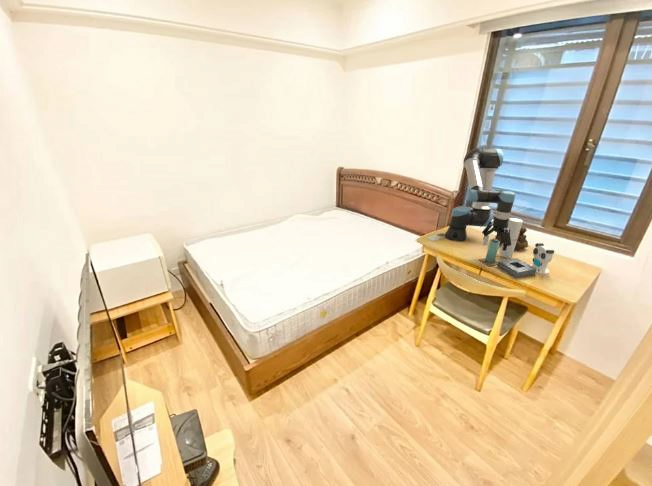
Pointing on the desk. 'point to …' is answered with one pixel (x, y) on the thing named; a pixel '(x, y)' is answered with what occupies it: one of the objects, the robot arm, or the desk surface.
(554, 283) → the desk surface
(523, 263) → the housing
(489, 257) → the teal cylinder
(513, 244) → the cylindrical container
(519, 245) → the brown lumpy upright piece
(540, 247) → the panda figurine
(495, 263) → the pad
